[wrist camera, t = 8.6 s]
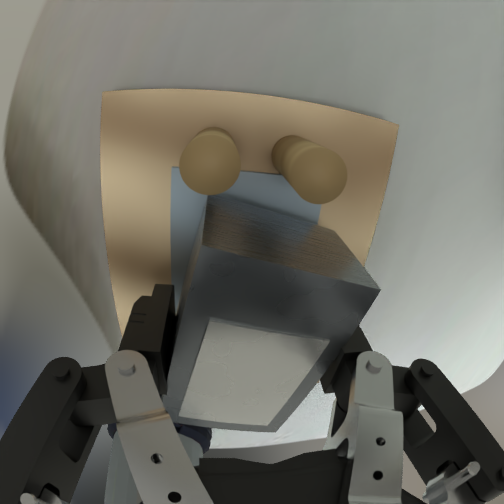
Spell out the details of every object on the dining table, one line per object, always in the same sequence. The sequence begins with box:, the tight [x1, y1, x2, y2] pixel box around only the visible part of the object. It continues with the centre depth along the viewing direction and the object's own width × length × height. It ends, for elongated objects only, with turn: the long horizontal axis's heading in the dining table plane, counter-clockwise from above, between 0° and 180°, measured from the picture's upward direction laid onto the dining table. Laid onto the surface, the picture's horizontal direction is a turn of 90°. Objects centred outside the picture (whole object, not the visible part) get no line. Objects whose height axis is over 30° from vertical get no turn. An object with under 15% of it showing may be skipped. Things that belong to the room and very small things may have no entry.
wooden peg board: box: [100, 89, 399, 383], centre depth 12 cm, size 16×12×5 cm
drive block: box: [161, 195, 381, 432], centre depth 10 cm, size 5×8×4 cm, turn 161°
